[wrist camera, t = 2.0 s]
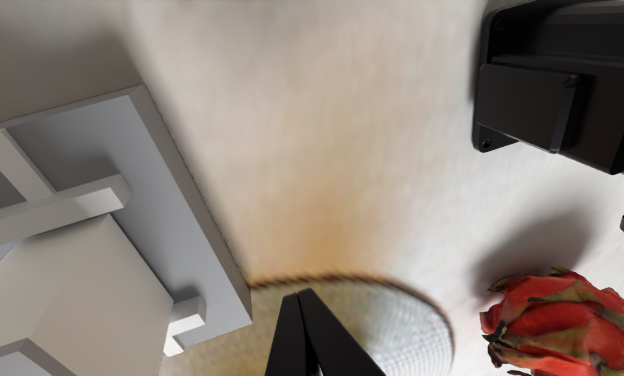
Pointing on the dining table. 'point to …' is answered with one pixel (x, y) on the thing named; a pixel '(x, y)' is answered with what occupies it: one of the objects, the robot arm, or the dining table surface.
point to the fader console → (123, 202)
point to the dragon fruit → (556, 326)
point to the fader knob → (81, 305)
